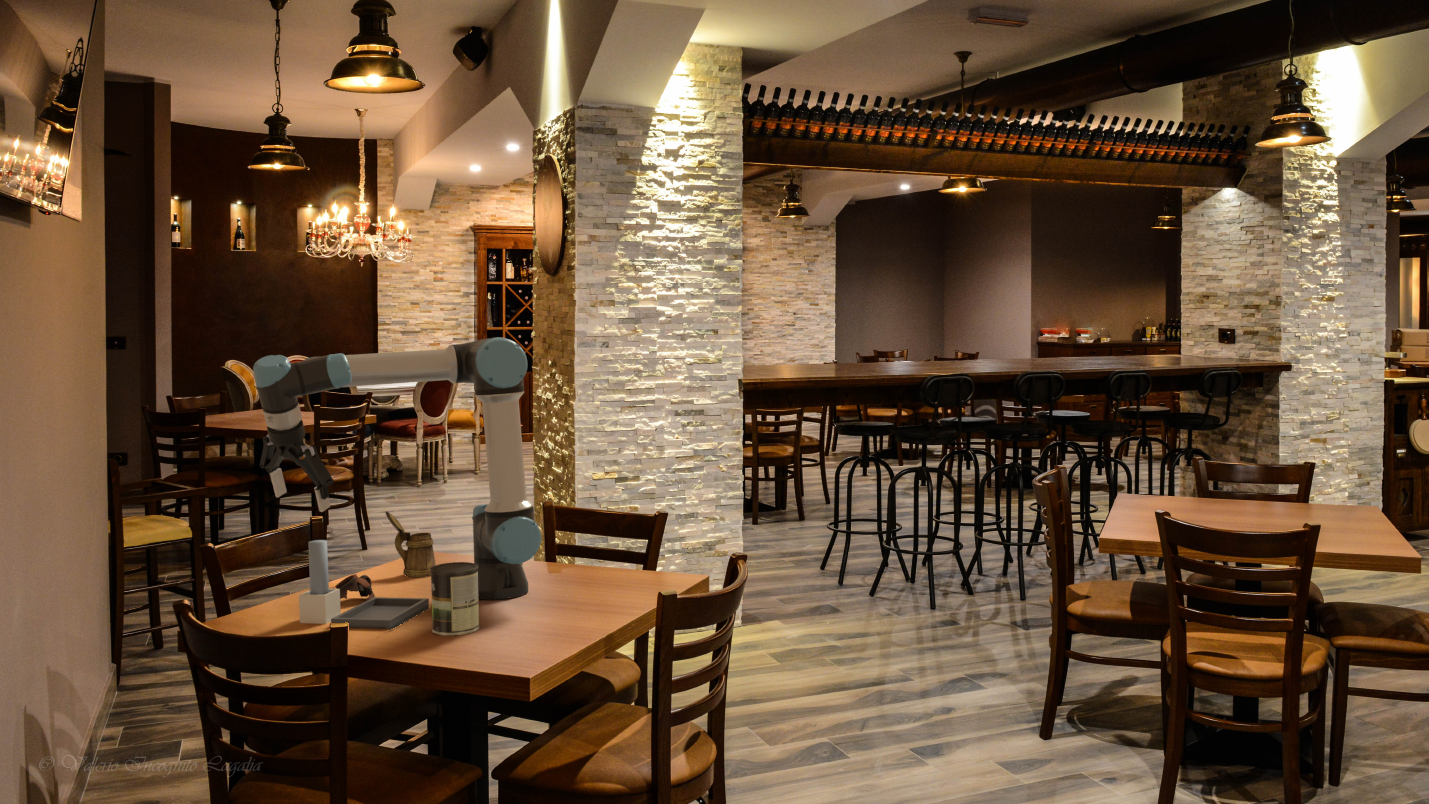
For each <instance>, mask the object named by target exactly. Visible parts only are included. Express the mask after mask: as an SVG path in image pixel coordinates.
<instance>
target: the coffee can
mask: <svg viewBox="0 0 1429 804" xmlns="http://www.w3.org/2000/svg"><path fill="white" fill-rule="evenodd" d="M430 572H431V576H430V583H431V589H430V590H431V620H432V621H431V622H432V624H431V625H432V626H431V627H432V628H431V630H432V631H431V632H432V633H433V634H434V633H435V634H434V635H437V634H438V635H437V636H442V635H443V636H444V637H454V636H455V635H458V636H464V635H469V634H472V633H475V632H477V631H479V629H480V612H479V611H480V609H479V599H478V565H477V564H475V563H474V562H467V561H453V562H445V563H439V564H436V566H433V567H431V568H430ZM468 633H469V634H468ZM463 634H464V635H463ZM455 637H456V636H455Z"/></svg>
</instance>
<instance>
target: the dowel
mask: <svg viewBox="0 0 1429 804" xmlns="http://www.w3.org/2000/svg"><path fill="white" fill-rule="evenodd" d="M328 554H329V553H328V540H326V539H315V540H310V541H308V566H309V567H308V568H309V569H308V571H309V590H310V595H325V594H327V593H329V589H330V588H329V586H330V585H329V584H330V583H329V582H330V581H329V560H328V559H329V557H328Z"/></svg>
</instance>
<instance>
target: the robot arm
mask: <svg viewBox="0 0 1429 804" xmlns="http://www.w3.org/2000/svg"><path fill="white" fill-rule="evenodd" d="M252 370H253V376H254V382H255V385H256V391H257V394H258V398H259V401H260V404H261V409H262V412H263V417H264V420H265V421H264V422H265V426H266V429H267V430H266V431H267V435H266V436H263V437H262V443H263V447H262V452H261V456H260V462H259V467H260V468H261V469H265V470H266V472H267V473H268V475H269V479H270V482H271V484H272V486H273V492H274V495H275V498H280V497H282V496H283V495H285V494H286V493H287V492H288V491H287V487H286V483H285V479H284V475H283V470H282V468H281V467H280V466H281V465H280V464H281V463H282V461H283V460H284V459H285V460H290V461H291V462H294V464H295V465H296V466H299V467H301V469H302V470H303V472H304V473H305V474H306V476H308V478H309V479H310V480H311V481H312V483H313V484H314V485H315V487H314V488H313V489H314V493H315V497H316V501H317V507H318V512H321V513H323V512H325V511H326V510H327V509H329V508H331V502H330V492H329V487H330V486H331V485H333V484H334V483H335V481H334V479H333V477H332V475H331V474H330V472H329V470H328V469H327V467H326V466H325V464H324V461H323V460H322V458H321V457H320V455H319V453H318V450H317V446H315V445H314V444H312V445H310V446H307V445H306V443H305V442H304V438H305V437H306V429H305V426H304V421H303V416H302V411H301V407H300V403H299V399H298V397H302V396H306V395H312V394H316V393H321V392H326V391H330V390H334V389H335V390H337V389H340V388H350V387H362V386H364V387H366V386H378V385H392V384H406V383H407V384H408V383H419V382H435V381H436V382H437V381H449V382H450V383H451V384H473V386H474V388H473V389H474V396H475V398H477V399H478V400H479V401H480V402H481V403H482V416H483V418H482V419H483V427H484V438H485V439H484V440H485V451H486V463H487V475H488V488H489V499H490V501H489V503H485V504H477V505H475V506H474V507H473V509H472V516H471V519H472V533H473V534H472V535H473V563H475V564H477V565H478V600H505V599H513V598H517V597H520V596H521V597H522V596H523V595H526V594H527V593H528V592H529V581H528V578H527V576H526V573H525V570H524V569H525V568H524V566H523V565H522V564H521V563H526V562H527V561H529V560H530V559H532V558H533V557H534V556H535V555H536V554H537V552H538V551H539V549H540V547H541V545H542V544H541V543H542V532H541V529H540V528H539V525H538V523H537V522H536V520H535V509H534V503H533V502H532V501H531V500H530V499H528V497H527V490H526V489H527V486H526V476H525V475H526V474H525V462H524V451H523V450H524V449H523V438H522V425H521V414H520V413H521V412H520V403H519V402H520V401H519V400H520V398H521V397H522V396H523V395H524V394H525V383H524V378H525V377H526V374H527V371H528V359H527V355H526V352H525V350H523V348H522V347H521V346H520V344H518V343H517V342H515V341H513V340H511V339H508V338H506V337H500V336H499V337H498V336H497V337H491V338H482V339H478V340H474V341H469V342H464V343H457V344H449V345H448V346H447V347H446V348H442V349H425V350H410V351H409V350H407V351H397V352H394V351H392V352H391V351H390V352H377V353H376V352H375V353H361V354H360V353H359V354H346V355H345V354H344V353H342V352H341V353H334V354H333V353H332V354H328V355H323V356H309V357H307V358H305V359H304V360H301V361H298V362H297V361H295V362H290V359H289V358H288V357H286V356H284V355H282V354H277V355H274V354H273V355H272V354H270V355H266V356H263V357H261V358H259V359H258V360H256V361H255V362H254V365H253V367H252ZM275 449H276V451H275ZM303 457H304V458H303Z"/></svg>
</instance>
